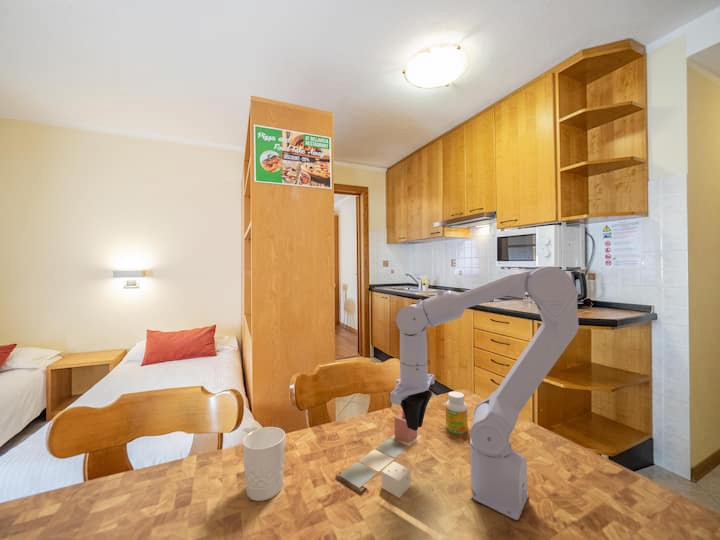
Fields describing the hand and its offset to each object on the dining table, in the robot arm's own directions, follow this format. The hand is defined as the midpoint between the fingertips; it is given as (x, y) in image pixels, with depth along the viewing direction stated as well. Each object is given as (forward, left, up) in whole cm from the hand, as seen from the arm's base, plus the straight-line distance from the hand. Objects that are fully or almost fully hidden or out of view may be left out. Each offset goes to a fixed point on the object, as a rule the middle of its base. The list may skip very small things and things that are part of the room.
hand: (414, 427), depth 63 cm
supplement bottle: (0, -21, -10) cm, 23 cm away
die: (0, +7, -10) cm, 12 cm away
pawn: (+8, -9, -9) cm, 15 cm away
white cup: (+20, +23, -10) cm, 32 cm away
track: (+8, 0, -9) cm, 12 cm away
